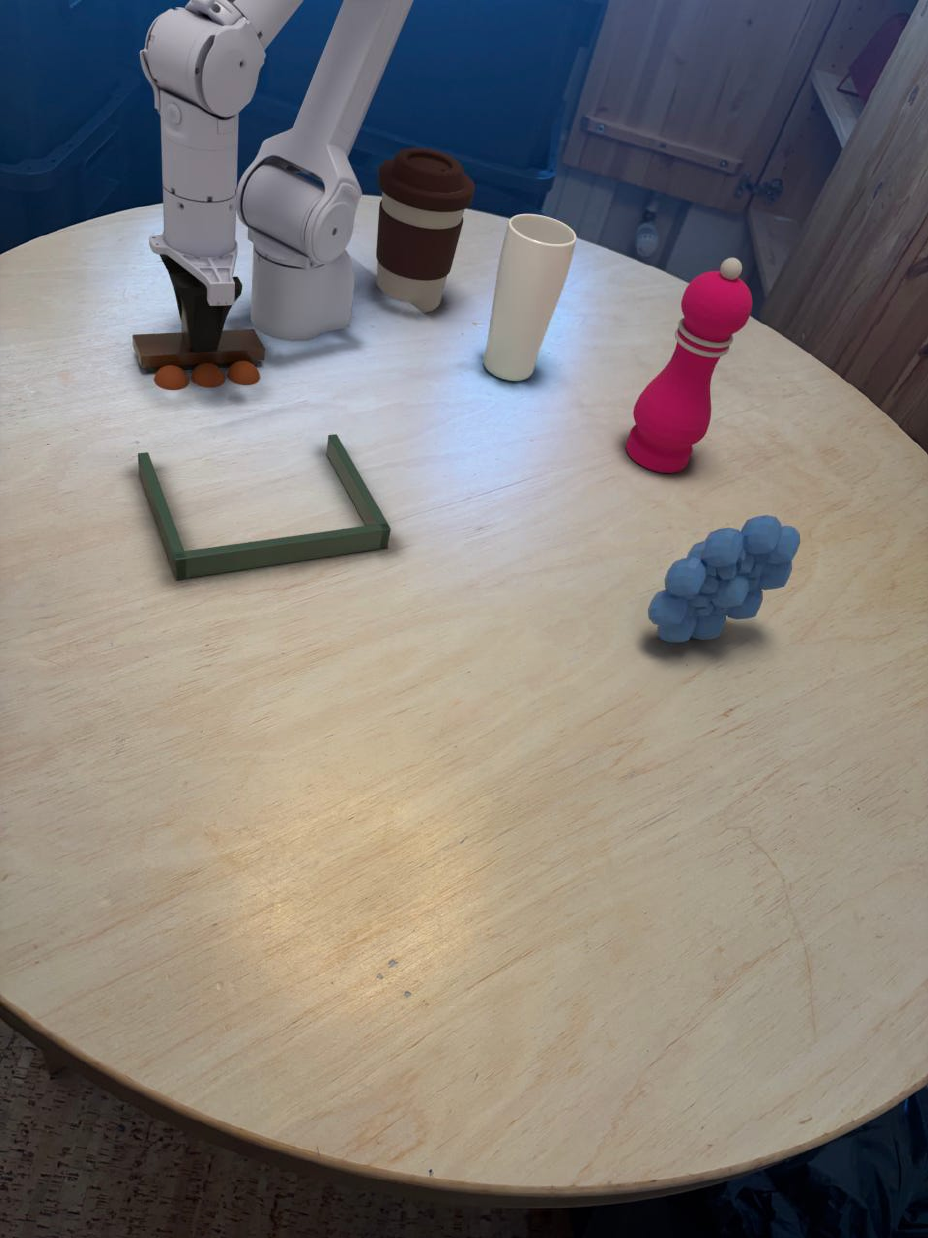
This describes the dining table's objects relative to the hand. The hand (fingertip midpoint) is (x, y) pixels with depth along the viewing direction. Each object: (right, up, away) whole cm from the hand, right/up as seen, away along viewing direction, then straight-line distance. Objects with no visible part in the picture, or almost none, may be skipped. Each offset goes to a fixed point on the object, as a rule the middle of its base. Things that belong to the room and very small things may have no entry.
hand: (200, 340), depth 85 cm
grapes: (+42, -26, -9) cm, 50 cm away
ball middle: (+1, -4, 0) cm, 4 cm away
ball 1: (-2, -4, -2) cm, 5 cm away
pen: (+7, -16, -9) cm, 20 cm away
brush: (-1, -2, +2) cm, 3 cm away
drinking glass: (+28, +1, +14) cm, 32 cm away
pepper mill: (+43, -9, +8) cm, 44 cm away
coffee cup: (+17, +11, +21) cm, 29 cm away
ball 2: (+4, -3, +1) cm, 5 cm away
